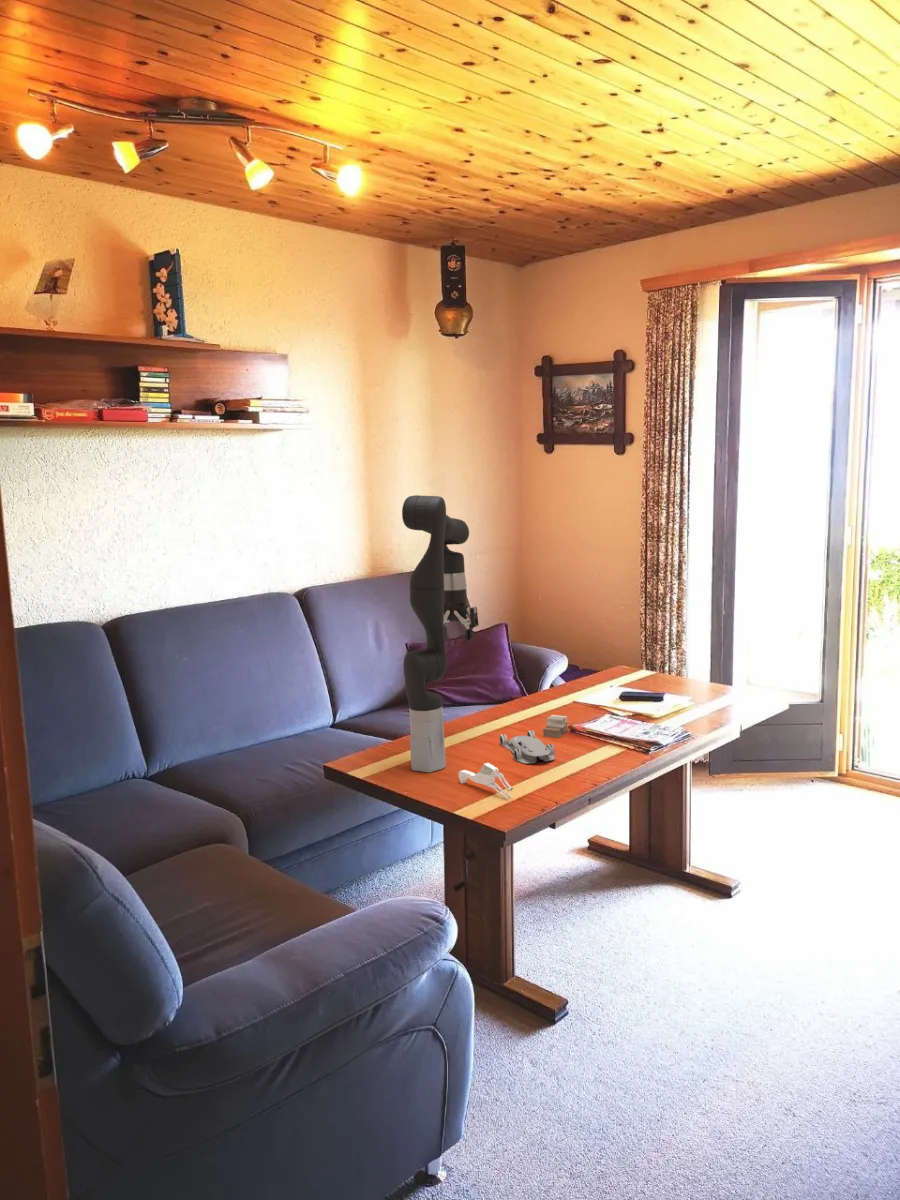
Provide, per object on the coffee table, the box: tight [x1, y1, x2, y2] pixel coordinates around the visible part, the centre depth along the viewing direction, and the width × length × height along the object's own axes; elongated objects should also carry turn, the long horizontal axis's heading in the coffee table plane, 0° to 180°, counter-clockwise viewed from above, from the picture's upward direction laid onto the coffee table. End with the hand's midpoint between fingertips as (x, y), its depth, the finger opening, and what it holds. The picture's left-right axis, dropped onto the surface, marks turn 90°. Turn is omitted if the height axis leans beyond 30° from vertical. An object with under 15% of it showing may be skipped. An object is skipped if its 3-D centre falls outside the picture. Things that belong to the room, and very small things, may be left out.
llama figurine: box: [457, 762, 515, 800], centre depth 236 cm, size 2×11×18 cm
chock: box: [542, 714, 568, 739], centre depth 280 cm, size 7×5×5 cm
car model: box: [499, 729, 556, 765], centre depth 264 cm, size 11×24×5 cm, turn 14°
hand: (456, 640), depth 279 cm, fingers open, 8 cm apart
